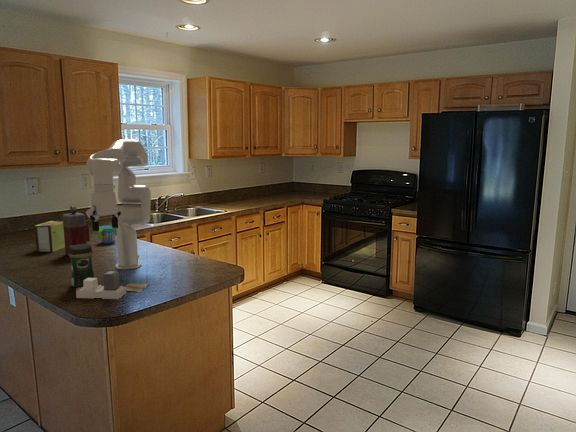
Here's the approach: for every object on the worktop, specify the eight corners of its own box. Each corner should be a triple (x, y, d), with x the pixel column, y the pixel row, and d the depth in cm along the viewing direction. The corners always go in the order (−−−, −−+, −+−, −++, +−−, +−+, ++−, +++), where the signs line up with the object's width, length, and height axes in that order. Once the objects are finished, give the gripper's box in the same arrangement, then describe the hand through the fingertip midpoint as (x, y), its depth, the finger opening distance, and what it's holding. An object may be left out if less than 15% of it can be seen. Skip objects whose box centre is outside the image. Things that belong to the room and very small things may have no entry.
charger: (104, 290, 181) (103, 273, 180) (109, 287, 186) (108, 270, 184) (114, 291, 181) (113, 274, 180) (119, 287, 185) (118, 271, 184)
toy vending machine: (91, 254, 251) (88, 205, 246) (71, 257, 243) (67, 207, 238) (85, 251, 257) (82, 203, 252) (65, 254, 249) (61, 205, 244)
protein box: (68, 246, 269) (66, 221, 266) (52, 252, 254) (50, 226, 251) (52, 245, 270) (50, 220, 267) (35, 251, 255) (33, 225, 252)
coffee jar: (93, 280, 204) (90, 241, 201) (96, 285, 197) (93, 244, 194) (70, 284, 198) (66, 244, 195) (72, 289, 192) (69, 247, 189)
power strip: (75, 297, 181) (74, 281, 180) (84, 292, 188) (83, 276, 187) (119, 299, 180) (118, 282, 179) (126, 293, 187) (125, 277, 186)
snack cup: (111, 239, 288) (110, 224, 286) (123, 240, 284) (122, 225, 282) (92, 244, 274) (91, 228, 272) (105, 246, 270) (104, 229, 268)
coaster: (129, 284, 198) (129, 283, 198) (148, 285, 197) (148, 284, 197) (120, 291, 189) (120, 290, 189) (140, 292, 189) (140, 290, 189)
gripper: (114, 187, 193) (116, 226, 195) (79, 189, 178) (81, 231, 180) (126, 187, 189) (128, 227, 191) (91, 190, 174) (94, 232, 176)
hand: (105, 229), depth 185 cm, fingers open, 9 cm apart
